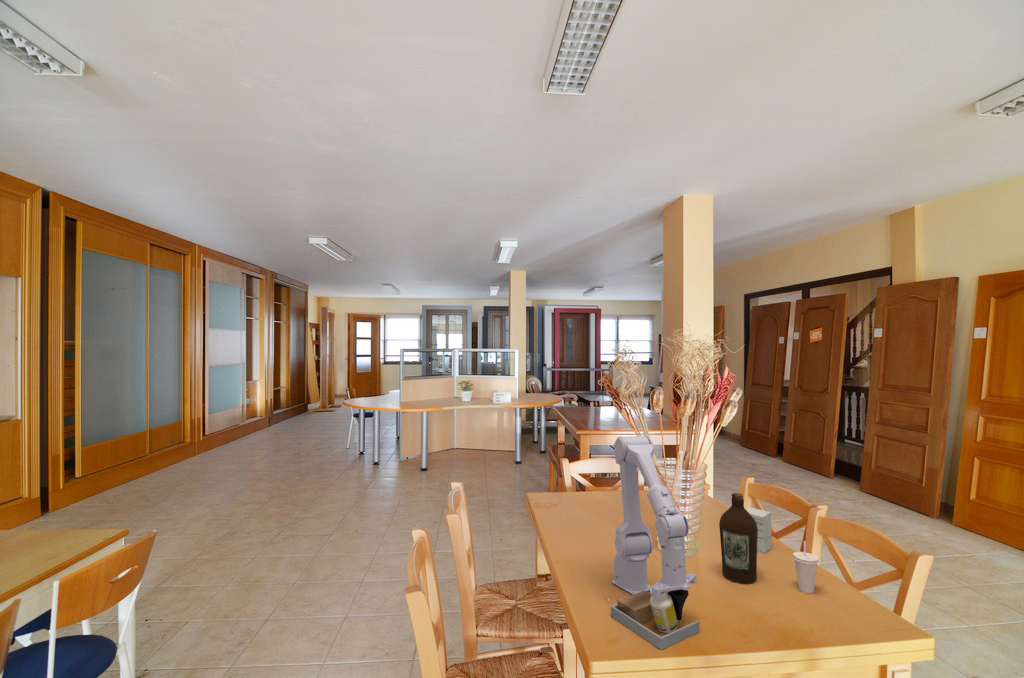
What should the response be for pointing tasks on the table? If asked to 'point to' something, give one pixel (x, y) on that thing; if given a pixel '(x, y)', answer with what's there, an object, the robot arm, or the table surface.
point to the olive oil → (738, 543)
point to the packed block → (637, 607)
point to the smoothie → (805, 570)
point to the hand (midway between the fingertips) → (676, 619)
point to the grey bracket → (651, 636)
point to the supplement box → (762, 529)
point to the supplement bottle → (664, 612)
